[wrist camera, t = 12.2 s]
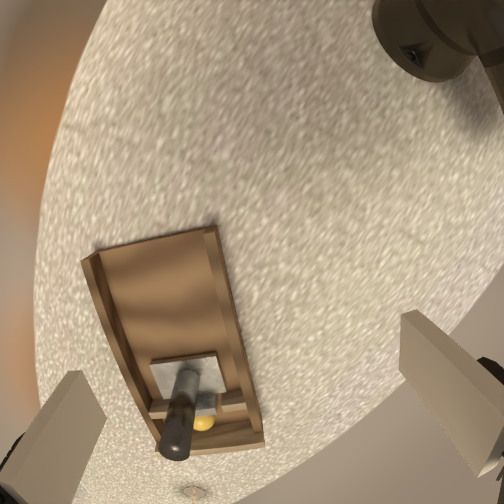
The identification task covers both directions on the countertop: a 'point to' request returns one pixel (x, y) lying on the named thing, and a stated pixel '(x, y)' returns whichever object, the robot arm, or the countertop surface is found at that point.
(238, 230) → the countertop surface
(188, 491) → the wineglass
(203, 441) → the lane
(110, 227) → the countertop surface
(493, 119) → the countertop surface
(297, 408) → the countertop surface
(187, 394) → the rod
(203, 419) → the ball
